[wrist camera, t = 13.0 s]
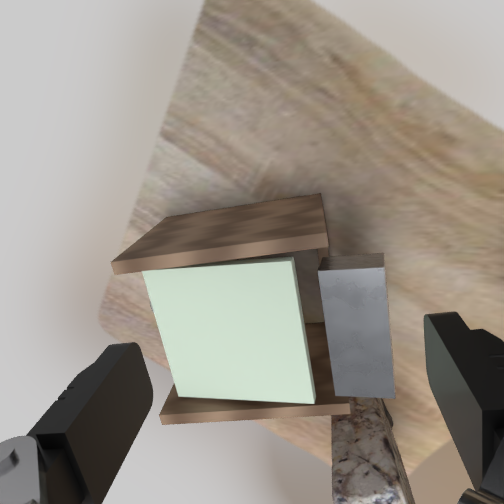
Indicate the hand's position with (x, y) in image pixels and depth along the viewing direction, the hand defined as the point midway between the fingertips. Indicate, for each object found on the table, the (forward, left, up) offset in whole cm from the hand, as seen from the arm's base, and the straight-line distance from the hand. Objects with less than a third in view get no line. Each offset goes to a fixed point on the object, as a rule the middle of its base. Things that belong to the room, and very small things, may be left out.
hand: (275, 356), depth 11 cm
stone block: (-4, +32, -36) cm, 49 cm away
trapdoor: (+4, +12, -24) cm, 27 cm away
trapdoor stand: (+8, +12, -36) cm, 39 cm away
